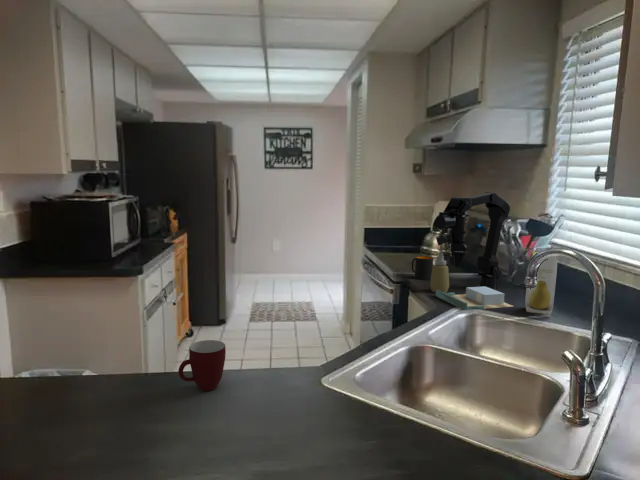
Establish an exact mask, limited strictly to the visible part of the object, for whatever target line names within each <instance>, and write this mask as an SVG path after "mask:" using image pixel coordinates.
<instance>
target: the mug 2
mask: <svg viewBox="0 0 640 480" xmlns="http://www.w3.org/2000/svg"><path fill="white" fill-rule="evenodd" d="M414 262H415V265H414ZM433 265H434V257H432V256H429V255H427V256H425V255H418V256H416V257H415V258H413V259H412V260H411V270H412V272H413V273H414V279H416V280H419V281H431V274H432V267H433Z"/></svg>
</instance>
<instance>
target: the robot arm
mask: <svg viewBox="0 0 640 480" xmlns="http://www.w3.org/2000/svg"><path fill="white" fill-rule="evenodd" d="M480 205H484V206H485V207H486V209H487V210H488V212H487V213H488V214H487V215H488V217H489V221H490V222H489V227H488V233H487V237H486V240H485V241H486V242H485V246H484V251H483V252H484V253H483V254H481V256H479V255H478V257H477V262H476V270H477V275H478V276H479V277H481V278H480V283H479V287H483V286H485V287H488V288H491V289H493V290H497V289H498V280H500V279H502V276H503V273H502V271H501V270H500V269H499V260H498V257H497V252H498V248H499V243H500V238H501V232H502V226H503V223H504V222H505V221H506V220H507V219H508V217H509V215H510V211H511V206H510V205H509V202H506V200H505V199H503V198H501V197H500V196H499V195H497V193H495V192H491V191H490V192H489V191H488V192H487V191H486V192H483V193H479V194H475V195H470V196H464V197H463V196H452V197H451V198H450V200H449V202H448V203H447V205H446V207H445V208H444V210H443V211H440V212H438V215H437V216H436V217H435V220H434V225H435V227H436V229H438V230H447V229H449V230H448V233H442V234H440V235H437V236H435V239H436V243H437V246H442V245H443V244H446V245H447V248H449V252H450V253H451V256H452V263H453V264H454V266H455V267H454V268H459V266H460V264H461V262H462V260H463V259H464V257H465V255H466V254H467V252H468V246H467V245H466V243H465V234H466V230H465V229H466V218H467V217H469V216H470V214H469V213H468V212H467V211H469V210H471V209H472V208H473V207H475V206H480Z"/></svg>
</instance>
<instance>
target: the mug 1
mask: <svg viewBox="0 0 640 480" xmlns="http://www.w3.org/2000/svg"><path fill="white" fill-rule="evenodd" d="M188 351H189V354H188V359H185V360H183V361H182V362H181V363H180V365H179V367H178V370H177V371H178V376H179V378H180V379H181V380H182V381H185V382H194V383H195V384H196V386H197V388H198V389H199V391H201V392H202V391H203V392H211V391H214V390H216V389H217V387H218V386H219V383H220V382H221V380H222V377H223V373H224V368H225V361H226V351H227V350H226V344H225V343H224V342H222V341H220V340H213V339H206V340H200V341H199V340H198V341H196V342H194V343H192V344H190V346H189V350H188ZM188 365H190V369H191V374H192V377H191V376H190V377H187V376H185V375H184V369H185V368H186V366H188Z"/></svg>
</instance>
